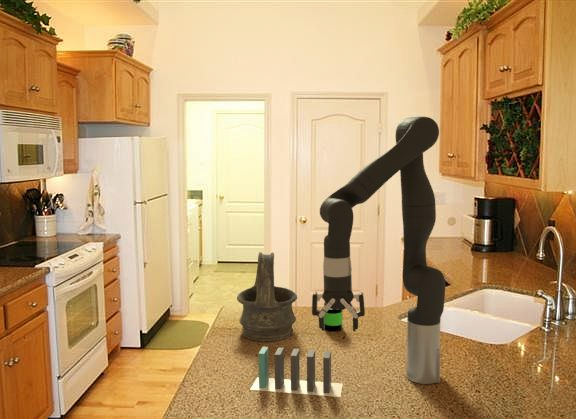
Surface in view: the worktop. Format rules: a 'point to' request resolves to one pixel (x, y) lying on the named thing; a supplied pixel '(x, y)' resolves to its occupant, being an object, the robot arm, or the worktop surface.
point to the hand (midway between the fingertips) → (338, 330)
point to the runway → (299, 388)
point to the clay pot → (266, 305)
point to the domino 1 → (263, 367)
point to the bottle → (333, 320)
